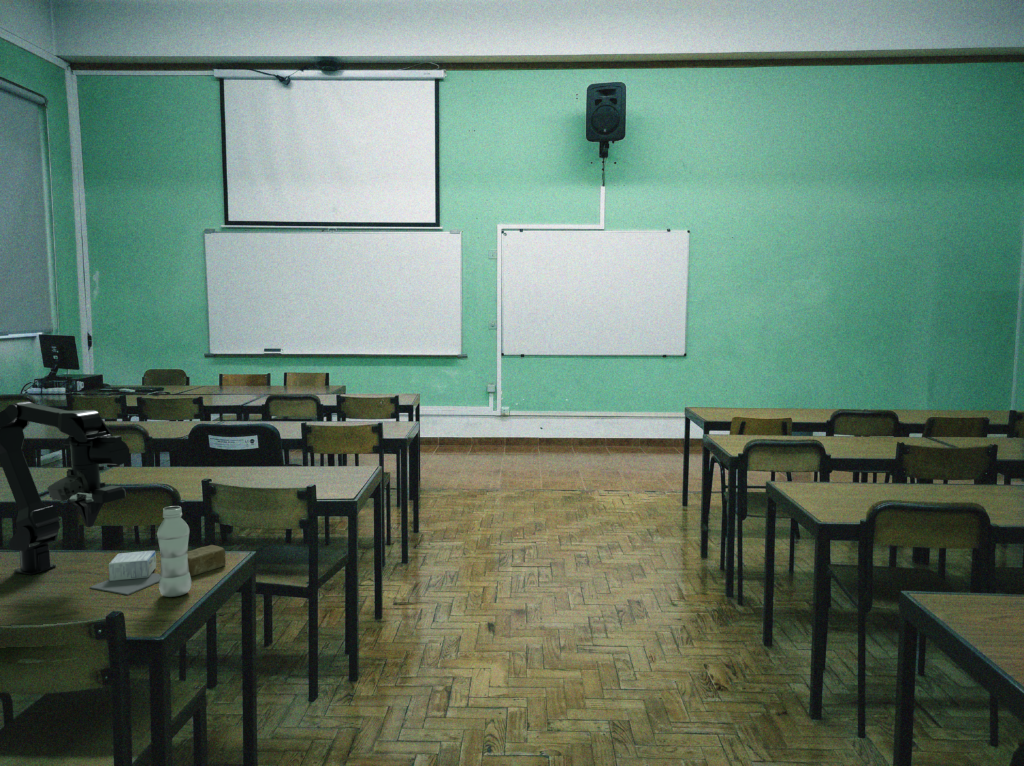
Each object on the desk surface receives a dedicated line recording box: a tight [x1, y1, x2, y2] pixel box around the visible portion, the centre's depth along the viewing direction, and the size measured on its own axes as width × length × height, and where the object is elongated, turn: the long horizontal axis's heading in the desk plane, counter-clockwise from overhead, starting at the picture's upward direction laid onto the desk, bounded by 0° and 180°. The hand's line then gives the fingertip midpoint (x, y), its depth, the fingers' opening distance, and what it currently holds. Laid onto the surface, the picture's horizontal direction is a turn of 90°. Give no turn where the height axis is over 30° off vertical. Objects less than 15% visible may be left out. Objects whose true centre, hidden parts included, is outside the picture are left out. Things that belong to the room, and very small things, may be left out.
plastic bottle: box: [156, 505, 192, 598], centre depth 157 cm, size 6×7×20 cm
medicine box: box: [108, 550, 157, 581], centre depth 170 cm, size 8×4×9 cm
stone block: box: [187, 544, 227, 577], centre depth 174 cm, size 6×12×5 cm, turn 147°
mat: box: [89, 572, 161, 596], centre depth 166 cm, size 12×12×1 cm
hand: (89, 526), depth 169 cm, fingers closed
